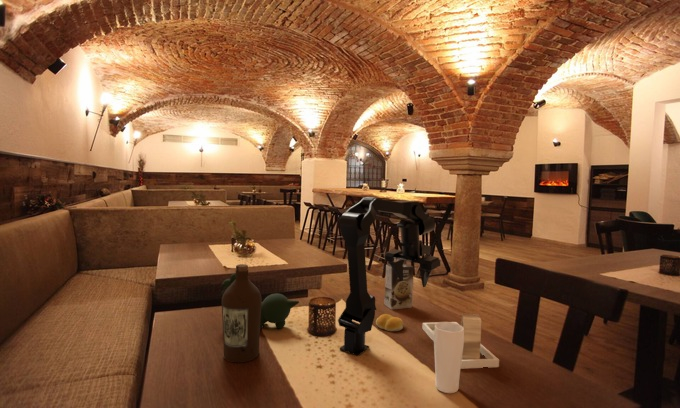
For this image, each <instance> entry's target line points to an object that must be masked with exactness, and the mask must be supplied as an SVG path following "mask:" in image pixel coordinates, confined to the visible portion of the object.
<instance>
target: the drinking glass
mask: <svg viewBox="0 0 680 408" xmlns="http://www.w3.org/2000/svg"><path fill="white" fill-rule="evenodd" d="M452 322H453V321H439V323H437V324H435V330H434V341H433V353H434V354H433V356H434V370H435V371H434V372H435V373H434V374H435V377H434V378H435V382H434V383H435V384H434V385H435V388H436V389H437V390H438V391H440V392H441V393H444V394H454V393H456V392H458V390H459V389H460V387H459V386H460V383H459V382H460V376H461V375H460V374H461V370H462V369H461V361H462V354H463V346H464V328H463V327H462V326H461V324H459V323H458V324H456V323H452Z"/></svg>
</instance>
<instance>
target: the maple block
mask: <svg viewBox="0 0 680 408" xmlns="http://www.w3.org/2000/svg"><path fill="white" fill-rule="evenodd" d="M460 325H461V326H462V327H463V328H464V346H463V354H462V360H469V359H481V353H480V343H481V342H482V341H481V340H482V339H481V338H482V318H481V316H480V315H479V314H478V313H475V314H474V313H465V312H464V313H463V312H461V319H460Z"/></svg>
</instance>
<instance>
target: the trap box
mask: <svg viewBox="0 0 680 408" xmlns="http://www.w3.org/2000/svg"><path fill="white" fill-rule="evenodd" d="M439 322H440V321H439ZM439 322H422V330H423V331H424V333H426V335H427V336H428V337H429V338H430V339H431V340H432V342H434V330H435V324H437V323H439ZM451 322H452V323H456V324H459V323H458V322H457V321H451ZM480 355H482V356H483V355H484V356H485V357H484V356H483V357H484V358H480V359H469V360H462V361H461V369H460V370H463V369H481V368H482V369H484V368H483V367H488V368H500V359H499V358H498V357H496V355H494V354H493V352H491V351H490V350H489V349H488V348H487V347H485V346H484V345H483V344H482V343H481V342H480Z"/></svg>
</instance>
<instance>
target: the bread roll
mask: <svg viewBox="0 0 680 408" xmlns="http://www.w3.org/2000/svg"><path fill="white" fill-rule="evenodd" d="M375 325H376V326H377V327H378V328H379V329H381V330H385V331H386V332H387V331H388V332H398V331H402V330H403V328H404V321H403V320H402V319H401V318H400V317H397V316H393V315H392V314H389V313H383V314H381V315H380V316H378V317H377V318H376V319H375Z"/></svg>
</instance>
